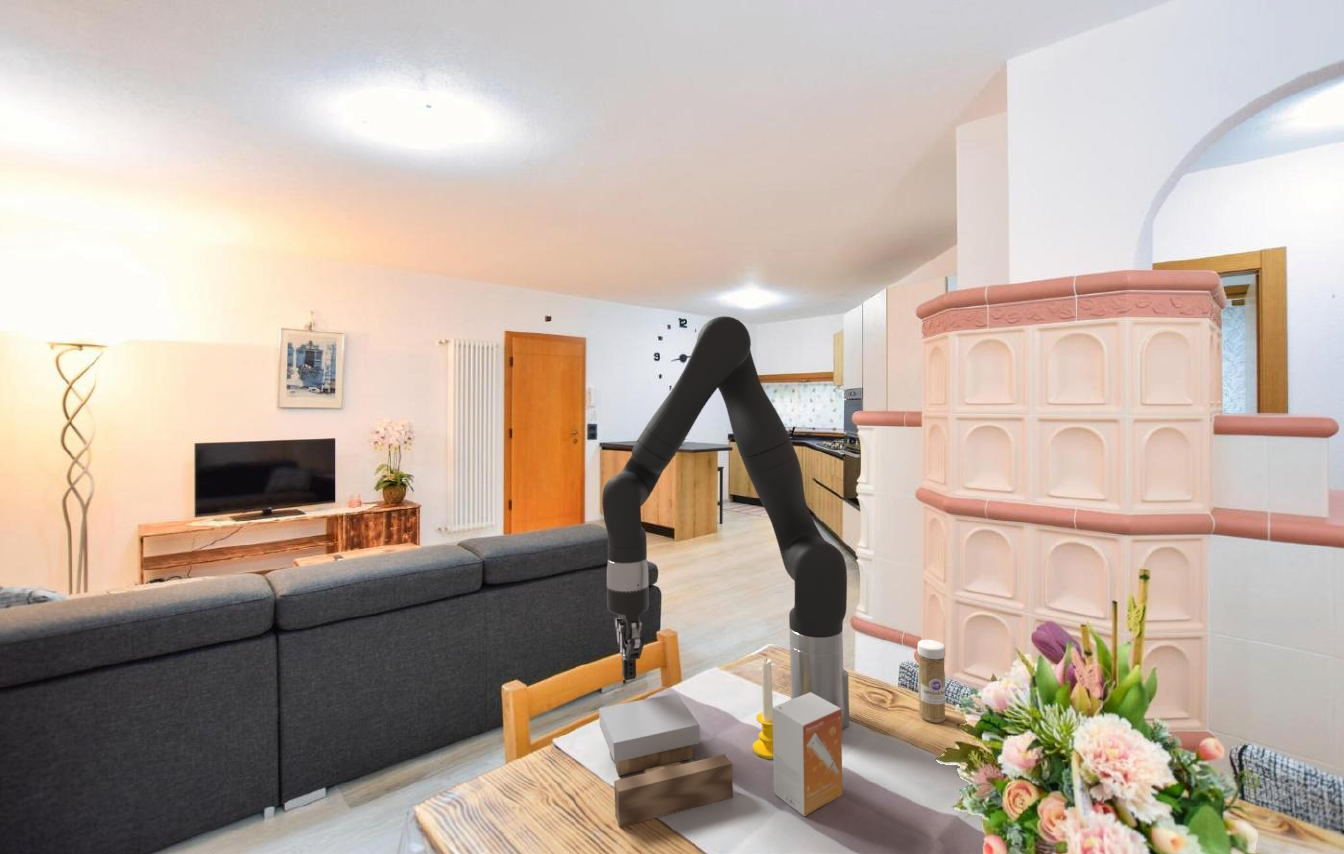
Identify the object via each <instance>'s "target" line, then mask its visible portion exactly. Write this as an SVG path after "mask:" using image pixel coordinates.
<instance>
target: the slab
mask: <svg viewBox="0 0 1344 854" xmlns="http://www.w3.org/2000/svg"><path fill="white" fill-rule="evenodd" d="M598 716H599V717H598V718H599V721H598V722H599V723H598V724H599V728H600V731H601V733H602V735H603V738H604V740H605V743H606V746H607V748H608V749H609V750H610V751H609V754H610V753H611V755H612V758H613V759H612V758H611V759H612V760H613V762H614V763H615V762H619V761H623V760H628V759H632V758H636V757H641V756H645V755H649V754H654V753H658V752H662V751H667V750H671V749H676V748H680V747H684V746H689V745H692V746H693V745H696V744H700V743H701V735H700V730H701V729H700V727H701V726H700V723H699V721H698V720H697V718H696V717H695V716H694V715H693V714H692V712H691V711H690V710H689V708H688V707H687V705H686V704H685V702H684V700H682V699H681V697H680V695H679V694H678V693H677V692H676V693H675V692H674V693H669V694H665V695H661V696H656V697H655V696H654V697H651V698H650V697H649V698H645V699H644V698H643V699H640V700H634V701H630V702H625V703H620V704H615V705H611V706H610V705H609V706H604V707H598ZM611 755H610V756H611Z"/></svg>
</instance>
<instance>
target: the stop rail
mask: <svg viewBox="0 0 1344 854" xmlns="http://www.w3.org/2000/svg"><path fill="white" fill-rule="evenodd" d="M681 764H682V765H678V766H673V767H669V768H665V769H661V770H657V771H653V772H648V773H644V772H643V773H640V774H637V775H632V776H628V777H624V778H619V779H615V780H613V781H614V782H613V784H614V785H613V786H614V787H613V788H614V813H615V814H614V815H615V819H616V822H617V825H618V826H619V827H618V828H622V827H626V826H630V825H634V824H638V823H641V822H644V821H648V820H652V819H656V818H661V817H663V816H667V815H671V814H675V813H678V812H679V813H680V812H682V811H686V810H690V809H693V808H697V807H701V806H705V805H708V804H712V803H716V802H719V801H724V800H727V799H731V798H734V789H733V763H732V762H731V760H730V759H729V757H728V756H727V755H726V753H723V754H720V755H715V756H711V757H708V758H703V759H700V760H695V761H691V762H687V763H681Z"/></svg>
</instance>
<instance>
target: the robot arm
mask: <svg viewBox="0 0 1344 854" xmlns="http://www.w3.org/2000/svg"><path fill="white" fill-rule="evenodd" d="M751 342H752V339H751V335H750V332H749V330H748V328H747V327H746V325H744V323H743V322H741V321H740V320H739V319H738V318H735V317H732V316H718V317H717V316H716V317H713V318H712V319H710V320H709V321H708V320H707V322H706V323H705V324H704V325H702V327H701V329H700V330H699V332H698V335H697V338H696V342H695V345H694V347H693V349H692V353H691V355H690V357H689V359H688V361H687V363H686V365H685V367H684V369H683V370H682V373H681V374H680V376H679V378H678V379H677V381H676V383H675V384H674V386H673V388H672V389H671V390H670V392H668V395H667V396H666V397H665V400H664V401H663V402H662V404H660V406H659V407H658V409H656V412H655V413H654V415H653V416H652V417H651V419H650V420H649V422H648V423H647V424H646V425H645V427H644V429H643V430H642V432H641V434H640V435H639V437H638V438H637V440H636V441H635V443H634V445H633V447H632V449H631V456H630V457H629V458H628V461H627V462H626V463H625V465H624V467H623V469H622V470H621V471H620V473H619V474H617V475H615V476H612V477H611V478H610V479H608V480H607V482H606V483H605V485H604V487H603V491H602V497H601V498H602V499H601V500H602V501H601V505H602V506H601V507H602V511H603V518H604V522H605V523H604V524H605V527H606V532H607V566H606V606H607V607H606V608H607V610H608V611H609V612H610V613H612V615H613V614H614V615H617V616H614V617H613V624H614V629H615V634H616V641H617V648H618V650H620V652H619V653H620V654H619V655H620V657H621V663H622V664H621V669H622V670H621V671H622V673H621V674H622V677H623V679H624V680H625V681H629V680H635V679H636V678H637V660H639V659H640V658H641V655H642V652H643V649H644V646H645V643H646V641H645V637H644V636H641V631H642V625H643V624H642V621H641V620H640V615H641V614H642V613H644V612H646V611H647V610H648V609H649V606H650V598H649V596H650V594H649V592H650V590H649V589H650V588H649V566H648V558H647V557H648V553H647V552H648V550H647V547H648V545H647V533H646V529H644V528H645V527H643V526H642V525H643V524H642V511H641V509H642V506H643V505H644V504H645V503H646V502H647V500H648V499H649V497H650V496H651V494H652V492H653V491H654V489H655V487H656V485H657V483H658V481H659V479H660V477H661V476H662V474H663V472H664V470H665V469H666V468H667V466H669V464H670V463H671V461H672V460H673V458H674V457H675V456H676V453H677V452H678V451H679V449H680V448H681V446H682V445H683V443H684V441H685V440H686V438H687V436H688V435H689V433H690V431H692V427H693V426H694V424H695V422H696V421H697V419H698V417H699V416H700V414H701V412H702V410H703V409H704V407H705V406H706V404H707V403H708V401H709V400H710V398H711V397H712V396H713V395H714V393H715V392H716V390H718V391H719V392H720V395H721V397H722V399H723V402H724V404H725V407H726V412H727V415H728V418H729V423H730V427H731V431H732V434H733V437H734V441H735V444H736V447H737V449H738V453H739V455H740V457H741V461H742V462H743V464H744V465H743V466H744V467H745V470H746V472H747V475H748V477H749V479H750V481H751V484H752V485H753V488H754V491H755V492H756V494H757V496H758V498H759V500H760V502H761V504H762V506H763V508H764V510H765V512H766V514H767V516H768V517H769V518H768V519H769V521H770V522H771V525H772V529H773V532H774V535H775V538H776V542H777V544H778V548H779V549H778V550H779V552H780V556H781V559H782V562H783V566H784V569H785V570H786V573H787V575H788V576H790V578H791V579H792V580H793V581H794V606H793V608H791V610H790V611H789V614H788V615H789V618H788V619H789V621H788V623H789V626H788V627H789V628H788V629H789V659H790V661H789V662H790V663H789V664H790V665H789V666H790V669H789V670H790V700H791V699H794V698H797V697H800V696H802V695H805V694H807V693H810V692H811V693H813V694H815V695H817V696H819V697H821V698H822V699H824V700H826V701H828V702H830V703H832V704H834V705H835V706H837V707H839V708H841V724H842V731H843V730H845V729H844V728H846V727H849V726H850V696H849V695H850V689H849V688H850V686H849V683H850V682H849V672H848V671H847V670H845V669H844V644H843V643H844V641H843V639H844V638H843V636H844V635H843V632H844V631H843V628H844V626H843V625H844V624H843V622H844V619H845V616H846V614H847V607H848V606H847V605H848V603H847V602H848V601H847V599H848V593H847V592H848V589H847V588H848V572H847V564H846V560H845V557H844V555H843V554H842V551H840V550H839V549H838V547H836V546H835V545H833V544H832V543H830V542H828V540H827V541H826V539H824V537H823V536H822V534H821V532H820V530H819V529H818V527H817V525H816V523H815V521H814V518H813V516H812V515H811V512H810V509H809V507H808V505H807V502H806V496H805V488H804V487H805V486H804V479H803V473H802V467H801V464H800V460H799V456H798V455H797V452H796V449H795V447H794V445H793V442H792V439H791V438H790V435H789V432H788V430H787V429H786V426H785V425H784V422H783V421H782V418H781V417H780V415H779V413H778V412H777V410H776V408H775V407H774V405H773V403H772V401H771V399H770V398H769V397H768V395H767V393H766V391H765V389H764V387H763V385H762V383H761V380H760V378H759V375H758V371H757V368H756V365H755V363H754V359H753V355H752V351H751V346H752V344H751ZM640 660H641V659H640Z"/></svg>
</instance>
